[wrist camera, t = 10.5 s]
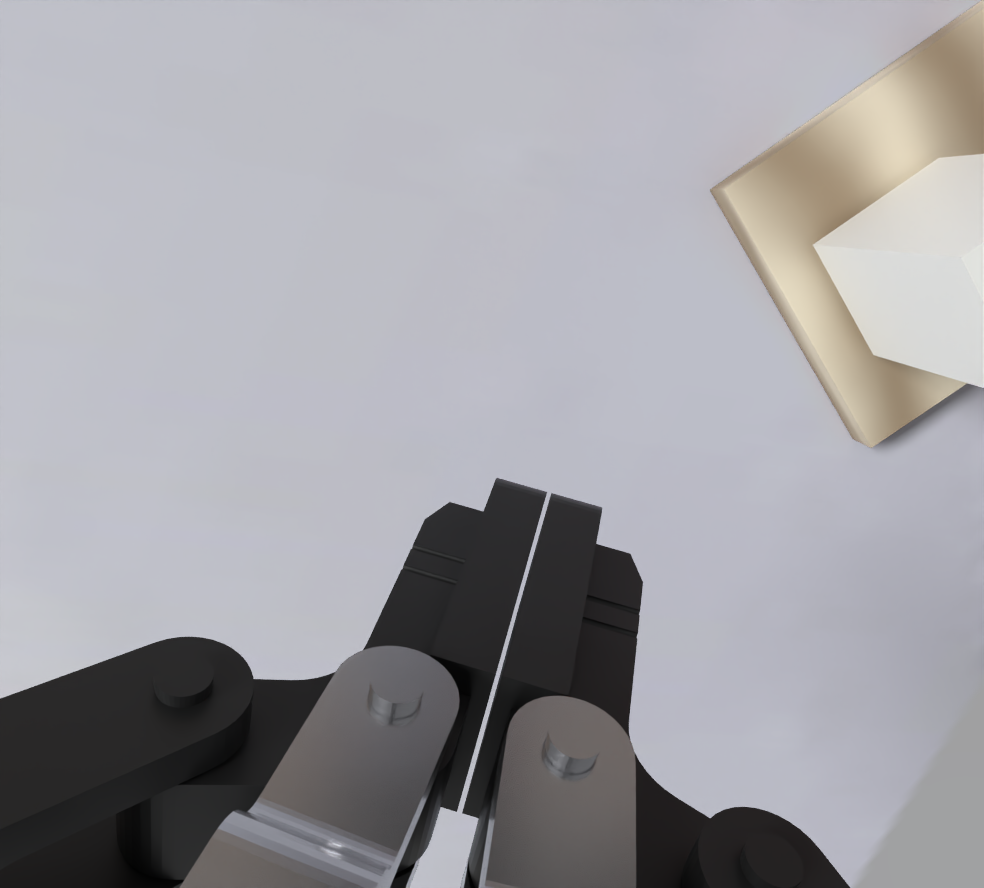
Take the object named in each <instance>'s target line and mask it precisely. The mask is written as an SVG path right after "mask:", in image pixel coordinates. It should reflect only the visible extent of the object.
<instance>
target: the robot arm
mask: <svg viewBox="0 0 984 888" xmlns="http://www.w3.org/2000/svg"><path fill="white" fill-rule="evenodd" d="M546 493H547V492H545V491H541V490H538V489H534V488H531V487H527V486H524V485H520V484H517V483H513V482H510V481H506V480H503V479H499V478H496V480H495V483H494V486H493V488H492V491H491V494H490V496H489V499H488V501H487V504H486V507H485V509H484V512H482V511H479V510H475V509H472V508H469V507H465V506H462V505H458V504H455V503H451V502H449V503H448V504H446V505H445V506H443V507H442V508H441V509H439V510H438V511H436V512H435V513H433V514H432V515H431V516H429V517H428V518H426V519H425V521H424V523H423V525H422V527H421V529H420V531H419V533H418V535H417V538H416V540H415V542H414V544H413V548H412V549H411V550H410V553H409V555H408V557H407V559H406V561H405V563H404V566H403V569H402V570H401V572H400V574H399V576H398V578H397V580H396V583H395V585H394V587H393V589H392V591H391V593H390V595H389V598H388V600H387V602H386V604H385V606H384V608H383V610H382V612H381V615H380V617H379V619H378V621H377V623H376V625H375V627H374V630H373V632H372V634H371V636H370V638H369V640H368V642H367V644H366V646H365V648H364V649H363V651H360V652H358V653H356V654H354V655H353V656H351V657H349V658H348V659H347V660H346V661H344V662H343V663H342V664H341V665H340V667H339V668H338V669H337V671H336V672H334V673H332V674H329V675H326V676H323V677H319V678H314V679H307V680H263V679H253V675H252V672H251V669H250V667H249V666H248V664H247V662H246V661H245V660H244V658H243V657H242V656H241V655H240V654H239V653H237V652H236V651H235V650H233V649H232V648H230V647H228V646H227V645H225V644H223V643H220V642H217V641H214V640H211V639H206V638H200V637H177V638H171V639H166V640H162V641H159V642H155V643H153V644H150V645H147V646H144V647H142V648H139V649H136V650H133V651H131V652H128V653H125V654H122V655H120V656H117V657H114V658H111V659H109V660H106V661H103V662H100V663H98V664H95V665H92V666H89V667H87V668H84V669H81V670H78V671H76V672H73V673H70V674H67V675H64V676H62V677H59V678H56V679H53V680H51V681H48V682H45V683H42V684H40V685H37V686H34V687H31V688H29V689H26V690H23V691H20V692H18V693H15V694H12V695H9V696H7V697H4V698H1V699H0V888H409V887H410V885H411V882H412V880H413V877H414V875H415V872H416V870H417V866H418V863H419V859H420V857H421V856H422V855H423V853H424V852H425V850H426V849H427V847H428V845H429V842H430V840H431V837H432V834H433V830H434V827H435V824H436V820H437V817H438V814H439V810H440V807H443V808H446V809H450V810H453V811H456V812H457V809H458V806H459V802H460V798H461V795H462V791H463V788H464V784H465V781H466V777H467V774H468V770H469V767H470V763H471V760H472V756H473V753H474V749H475V745H476V742H477V738H478V735H479V731H480V728H481V724H482V721H483V717H484V714H485V710H486V707H487V703H488V700H489V696H490V692H491V689H492V685H493V682H494V678H495V675H496V671H497V668H498V664H499V661H500V657H501V653H502V650H503V646H504V643H505V639H506V636H507V632H508V629H509V625H510V621H511V618H512V614H513V611H514V607H515V604H516V600H517V597H518V593H519V589H520V586H521V582H522V579H523V575H524V572H525V568H526V565H527V561H528V557H529V554H530V550H531V547H532V543H533V540H534V536H535V533H536V529H537V525H538V522H539V518H540V515H541V511H542V508H543V504H544V501H545V497H546ZM601 513H602V507H598V506H595V505H591V504H588V503H584V502H581V501H577V500H574V499H570V498H566V497H563V496H559V495H556V494H552V493H551V497H550V500H549V504H548V507H547V511H546V514H545V518H544V521H543V525H542V528H541V532H540V535H539V538H538V542H537V545H536V549H535V552H534V556H533V559H532V563H531V566H530V570H529V573H528V577H527V580H526V584H525V587H524V591H523V595H522V598H521V602H520V605H519V609H518V612H517V616H516V620H515V623H514V627H513V630H512V634H511V638H510V641H509V645H508V649H507V652H506V656H505V660H504V663H503V667H502V670H501V674H500V678H499V681H498V685H497V689H496V692H495V696H494V700H493V703H492V707H491V711H490V714H489V718H488V721H487V725H486V729H485V732H484V736H483V740H482V743H481V747H480V751H479V754H478V758H477V761H476V765H475V769H474V772H473V776H472V780H471V783H470V787H469V791H468V794H467V798H466V801H465V805H464V809H463V812H462V813H464V814H467V815H470V816H473V817H477V818H479V820H478V824H477V827H476V831H475V835H474V839H473V843H472V847H471V851H470V854H469V858H468V861H467V864H466V867H465V871H464V874H463V878H462V881H461V886H460V888H850V887H849V886H848V884H847V883H846V882H845V881H844V879H843V878H842V877H841V876H840V874H839V873H838V872H837V871H836V869H835V868H834V867H833V865H832V864H831V863H830V862H829V860H828V859H827V858H826V857H825V855H824V854H823V853H822V852H821V850H820V849H819V848H818V847H817V846H816V845H815V843H814V842H813V841H812V840H811V839H810V838H809V837H808V836H807V835H806V834H805V833H803V832H802V831H801V830H800V829H799V828H797V827H796V826H794V825H793V824H792V823H790V822H789V821H787V820H785V819H783V818H781V817H780V816H778V815H775V814H773V813H770V812H768V811H764V810H761V809H757V808H750V807H734V808H730V809H726V810H723V811H721V812H719V813H717V814H715V815H714V816H713V817H712V818H708V817H707V816H705V815H704V814H702V813H700V812H699V811H697V810H696V809H694V808H692V807H691V806H689V805H687V804H686V803H684V802H683V801H681V800H679V799H678V798H676V797H675V796H673V795H672V794H670V793H669V792H668V791H666V790H665V789H664V788H662V787H661V786H660V785H659V784H658V783H657V782H656V781H655V780H654V779H653V778H652V777H651V776H650V775H649V774H648V773H647V772H646V770H645V769H644V767H643V766H642V765H641V763H640V762H639V760H638V758H637V756H636V754H635V752H634V749H633V746H632V743H631V741H630V736H629V714H630V704H631V695H632V685H633V675H634V665H635V655H636V645H637V638H636V637H637V634H638V626H639V616H640V615H639V612H640V606H641V596H642V586H643V581H642V579H641V577H640V575H639V572H638V570H637V568H636V566H635V563H634V561H633V559H632V557H631V554H629V553H626V552H622V551H619V550H615V549H612V548H608V547H605V546H601V545H598V544H596V541H597V535H598V530H599V524H600V519H601Z"/></svg>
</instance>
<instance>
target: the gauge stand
mask: <svg viewBox="0 0 984 888" xmlns="http://www.w3.org/2000/svg"><path fill="white" fill-rule="evenodd" d="M976 154H984V0H982V1H980V2H979V3H977V4H976V5H975V6H973V7H972V8H970V9H969V10H967V11H966V12H965V13H963V14H962V15H960V16H959V17H957V18H956V19H954V20H953V21H952V22H950V23H949V24H947V25H946V26H944V27H943V28H942V29H940V30H939V31H937V32H936V33H934V34H933V35H932V36H930V37H929V38H927V39H926V40H924V41H923V42H921V43H920V44H919V45H917V46H916V47H914V48H913V49H911V50H910V51H909V52H907V53H906V54H904V55H903V56H901V57H900V58H898V59H897V60H896V61H894V62H893V63H891V64H890V65H888V66H887V67H886V68H884V69H883V70H881V71H880V72H878V73H877V74H876V75H874V76H873V77H871V78H870V79H868V80H867V81H865V82H864V83H863V84H861V85H860V86H858V87H857V88H855V89H854V90H853V91H851V92H850V93H848V94H847V95H845V96H844V97H842V98H841V99H840V100H838V101H837V102H835V103H834V104H832V105H831V106H830V107H828V108H827V109H825V110H824V111H822V112H821V113H820V114H818V115H817V116H815V117H814V118H812V119H811V120H809V121H808V122H807V123H805V124H804V125H802V126H801V127H799V128H798V129H797V130H795V131H794V132H792V133H791V134H789V135H788V136H786V137H785V138H784V139H782V140H781V141H779V142H778V143H776V144H775V145H774V146H772V147H771V148H769V149H768V150H766V151H765V152H764V153H762V154H761V155H759V156H758V157H756V158H755V159H753V160H752V161H751V162H749V163H748V164H746V165H745V166H743V167H742V168H741V169H739V170H738V171H736V172H735V173H733V174H732V175H730V176H729V177H728V178H726V179H725V180H723V181H722V182H720V183H719V184H718V185H716V186H715V187H713V188H712V189H710V191H711V193H712V195H713V196H714V198H715V200H716V202H717V203H718V205H719V207H720V209H721V210H722V212H723V214H724V216H725V217H726V219H727V221H728V223H729V224H730V226H731V228H732V230H733V231H734V233H735V235H736V236H737V238H738V240H739V242H740V243H741V245H742V247H743V249H744V250H745V252H746V254H747V256H748V257H749V259H750V261H751V263H752V264H753V266H754V268H755V270H756V271H757V273H758V275H759V276H760V278H761V280H762V282H763V283H764V285H765V287H766V289H767V290H768V292H769V294H770V296H771V297H772V299H773V301H774V303H775V304H776V306H777V308H778V310H779V311H780V313H781V315H782V317H783V318H784V320H785V322H786V323H787V325H788V327H789V329H790V330H791V332H792V334H793V336H794V337H795V339H796V341H797V343H798V344H799V346H800V348H801V350H802V351H803V353H804V355H805V357H806V358H807V360H808V362H809V364H810V365H811V367H812V369H813V370H814V372H815V374H816V376H817V377H818V379H819V381H820V383H821V384H822V386H823V388H824V390H825V391H826V393H827V395H828V397H829V398H830V400H831V402H832V404H833V405H834V407H835V409H836V410H837V412H838V414H839V416H840V417H841V419H842V421H843V423H844V424H845V426H846V428H847V430H848V431H849V433H850V435H851V437H852V438H853V439H854V440H856V441H858V442H860V443H862V444H864V445H866V446H868V447H870V448H872V447H874V446H875V445H877V444H878V443H880V442H881V441H883V440H884V439H885V438H887V437H888V436H890V435H891V434H893V433H894V432H896V431H897V430H899V429H900V428H902V427H903V426H905V425H906V424H908V423H909V422H911V421H912V420H914V419H915V418H917V417H918V416H920V415H921V414H923V413H924V412H926V411H927V410H928V409H930V408H931V407H933V406H934V405H936V404H937V403H939V402H940V401H942V400H943V399H945V398H946V397H948V396H949V395H951V394H952V393H954V392H955V391H957V390H958V389H960V388H961V387H963V386H964V385H966V384H967V383H965V382H962V381H958V380H955V379H952V378H948V377H945V376H942V375H938V374H935V373H932V372H928V371H925V370H922V369H918V368H915V367H912V366H908V365H905V364H902V363H898V362H895V361H892V360H888V359H885V358H882V357H878V356H875V355H873V353H872V352H871V350H870V348H869V346H868V344H867V343H866V341H865V339H864V337H863V335H862V333H861V332H860V330H859V328H858V326H857V324H856V323H855V321H854V319H853V317H852V315H851V313H850V312H849V310H848V308H847V306H846V304H845V303H844V301H843V299H842V297H841V295H840V293H839V292H838V290H837V288H836V286H835V284H834V283H833V281H832V279H831V277H830V275H829V273H828V272H827V270H826V268H825V266H824V264H823V263H822V261H821V259H820V257H819V255H818V253H817V252H816V250H815V248H814V246H813V244H815V243H816V242H817V241H819V240H820V239H822V238H823V237H825V236H826V235H828V234H829V233H830V232H832V231H833V230H835V229H836V228H838V227H839V226H841V225H842V224H844V223H845V222H846V221H848V220H849V219H851V218H852V217H854V216H855V215H857V214H858V213H860V212H861V211H862V210H864V209H865V208H867V207H868V206H870V205H871V204H873V203H874V202H875V201H877V200H878V199H880V198H881V197H883V196H884V195H886V194H887V193H889V192H890V191H891V190H893V189H894V188H896V187H897V186H899V185H900V184H902V183H903V182H905V181H906V180H907V179H909V178H910V177H912V176H913V175H915V174H916V173H918V172H919V171H920V170H922V169H923V168H925V167H926V166H928V165H929V164H931V163H932V162H934V161H935V160H936V159H938V158H942V157H953V156H965V155H976Z"/></svg>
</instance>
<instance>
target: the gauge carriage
mask: <svg viewBox="0 0 984 888" xmlns="http://www.w3.org/2000/svg"><path fill="white" fill-rule="evenodd" d="M813 246H814V248H815V250H816V252H817V253H818V255H819V257H820V259H821V261H822V263H823V264H824V266H825V268H826V270H827V272H828V273H829V275H830V277H831V279H832V281H833V283H834V284H835V286H836V288H837V290H838V292H839V293H840V295H841V297H842V299H843V301H844V303H845V304H846V306H847V308H848V310H849V312H850V313H851V315H852V317H853V319H854V321H855V323H856V324H857V326H858V328H859V330H860V332H861V333H862V335H863V337H864V339H865V341H866V343H867V344H868V346H869V348H870V350H871V352H872V353H873V355H875V356H878V357H882V358H885V359H888V360H892V361H895V362H898V363H902V364H905V365H908V366H912V367H915V368H918V369H922V370H925V371H928V372H932V373H935V374H938V375H942V376H945V377H948V378H952V379H955V380H958V381H962V382H965V383H968V384H972V385H975V386H979V387H982V388H984V154H976V155H965V156H953V157H942V158H938V159H936V160H935V161H934V162H932V163H931V164H929V165H928V166H926V167H925V168H923V169H922V170H920V171H919V172H918V173H916V174H915V175H913V176H912V177H910V178H909V179H907V180H906V181H905V182H903V183H902V184H900V185H899V186H897V187H896V188H894V189H893V190H891V191H890V192H889V193H887V194H886V195H884V196H883V197H881V198H880V199H878V200H877V201H875V202H874V203H873V204H871V205H870V206H868V207H867V208H865V209H864V210H862V211H861V212H860V213H858V214H857V215H855V216H854V217H852V218H851V219H849V220H848V221H846V222H845V223H844V224H842V225H841V226H839V227H838V228H836V229H835V230H833V231H832V232H830V233H829V234H828V235H826V236H825V237H823V238H822V239H820V240H819V241H817V242H816V243H815V244H813Z"/></svg>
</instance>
